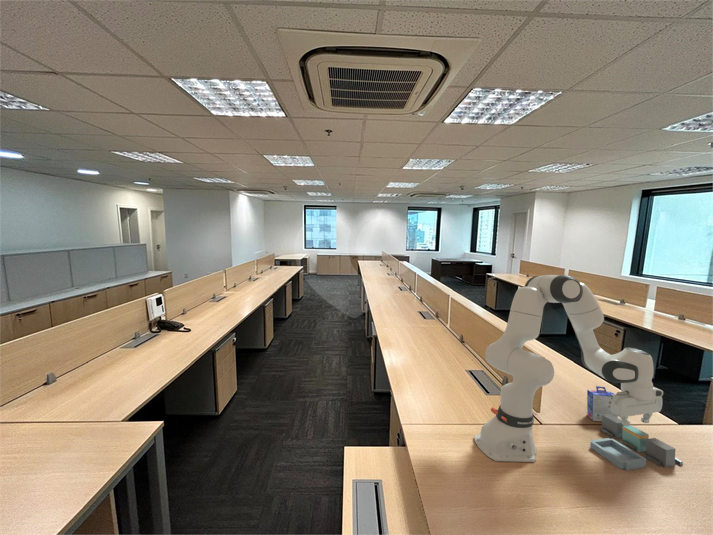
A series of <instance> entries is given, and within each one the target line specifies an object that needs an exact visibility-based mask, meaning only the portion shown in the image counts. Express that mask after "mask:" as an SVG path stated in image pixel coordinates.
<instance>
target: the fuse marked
mask: <svg viewBox="0 0 713 535" xmlns="http://www.w3.org/2000/svg"><path fill="white" fill-rule="evenodd" d="M623 439H624V440H625V441H627V442H629V443H630V444H632V445H634V446H635V447H636V451H637V452H639V453H640V452H641V453H642V452H643V453H644V452H646V439H650V436H649V434H648V433H647V432H645V431H643V430H641V429H639V428H637V427H635V426H633V425H632V424H630V426H623V427H622V438H621V440H623Z"/></svg>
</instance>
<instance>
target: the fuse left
mask: <svg viewBox="0 0 713 535" xmlns="http://www.w3.org/2000/svg"><path fill="white" fill-rule="evenodd" d="M623 426H624V425H622V420H621V418H619V417H618V418H616V417H615V416H613V415H611V414H606V415H602V421H601V427H603V428H605V429H607V430H608V431H610V432H612V433H613V434H614V437H613V438H615V439H622V427H623Z"/></svg>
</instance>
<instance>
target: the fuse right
mask: <svg viewBox="0 0 713 535" xmlns="http://www.w3.org/2000/svg"><path fill="white" fill-rule="evenodd" d="M646 453H647V454H649V455H651V456H653V457H654V458H656V459H658V460H659V461H661V462H662V466H661V467H664V468H665V469H666V468H672V467H675V465H676V463H675V458H676V448H675V447H673V446H671V445H669V444H667V443H665V442H663V441H662V440H660V439H658V438H656V437H652V438H651V437H649V438H648V439H646V451H645V454H646Z"/></svg>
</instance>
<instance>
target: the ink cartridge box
mask: <svg viewBox="0 0 713 535" xmlns="http://www.w3.org/2000/svg"><path fill="white" fill-rule="evenodd" d="M595 388H596V390H593V389H587V391H586V392H587V396H586V400H587V401H586V402H587V403H586V405H587V406H586V408H587V409H586V410H587V411H586V415H587V417H589V419H590V420H591V421H596V422H602V415H606V414H611V415H613V416H615V417H616V418H618V419H619V416H617V415H615V414H613V413H612V412H611V402H612V398H613V396H614V395H615V394H616V393H614V392H612V391H608V390H607V389H606V386H598V385H596V386H595Z"/></svg>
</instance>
